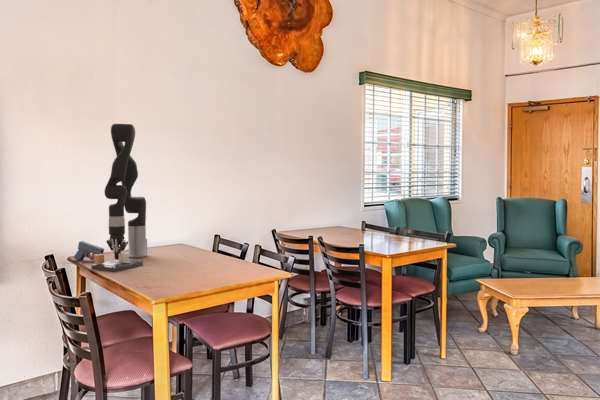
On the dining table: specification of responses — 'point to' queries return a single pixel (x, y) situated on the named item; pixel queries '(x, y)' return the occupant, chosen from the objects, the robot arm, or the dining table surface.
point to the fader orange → (98, 258)
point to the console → (116, 265)
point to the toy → (87, 251)
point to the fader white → (123, 257)
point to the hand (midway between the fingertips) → (117, 259)
